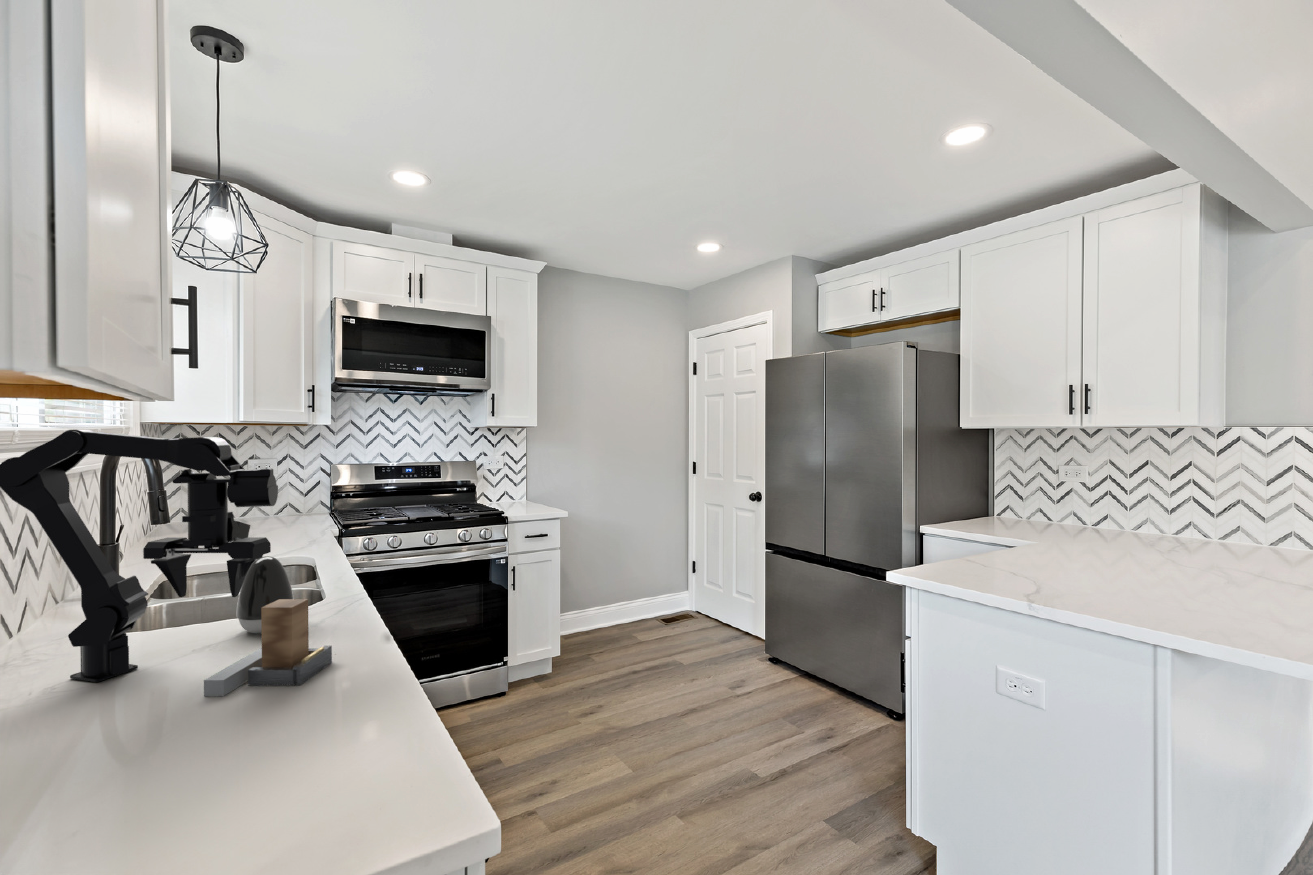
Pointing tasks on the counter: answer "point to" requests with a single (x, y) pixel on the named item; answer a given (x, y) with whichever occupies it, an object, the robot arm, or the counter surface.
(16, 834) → the counter surface
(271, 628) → the block
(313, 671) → the keeper
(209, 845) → the counter surface
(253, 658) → the door edge
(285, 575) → the dark grey egg shape
